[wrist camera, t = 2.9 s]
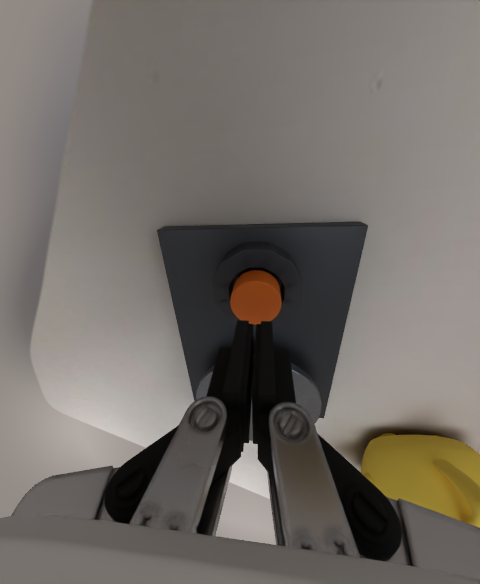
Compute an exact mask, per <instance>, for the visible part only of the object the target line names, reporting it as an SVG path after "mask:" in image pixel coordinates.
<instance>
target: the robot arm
mask: <svg viewBox="0 0 480 584" xmlns="http://www.w3.org/2000/svg"><path fill="white" fill-rule="evenodd" d="M251 403H252V423H253V444H258V460H259V461H260V462H261V463H262V465H263V466H264V467H265V469H266V470H267V476H268V484H269V492H270V500H271V508H272V515H273V522H274V530H275V539H276V545H271V544H265V543H258V542H251V541H244V540H237V539H229V538H223V537H216V536H215V535H216V531H217V527H218V523H219V519H220V515H221V510H222V507H223V502H224V498H225V494H226V490H227V486H228V482H229V478H230V474H231V470H232V465H233V464H234V463H235V462H236V461H237V460H238V459H239V458H240V457H241V452H243V446H244V443H249V433H250V418H251ZM0 584H480V528H479V527H476V526H474V525H471V524H468V523H465V522H463V521H460V520H457V519H455V518H452V517H449V516H446V515H444V514H441V513H438V512H435V511H433V510H430V509H427V508H425V507H422V506H419V505H416V504H414V503H411V502H408V501H406V500H403V499H400V498H399V499H398V500H397V501H396V500H394V499H391V498H388V497H386V496H385V495H384V494H383V493H382V492H381V491H380V490H379V489H378V488H377V487H376V486H375V485H374V484H373V483H371V482H370V481H369V480H368V479H367V478H366V477H365V476H364V475H363V474H361V473H360V472H359V471H358V470H357V469H356V468H355V467H354V466H353V465H352V464H350V463H349V462H348V461H347V460H346V459H345V458H344V457H343V456H342V455H340V454H339V453H338V452H337V451H336V450H335V449H334V448H333V447H332V446H331V445H329V444H328V443H327V442H326V441H325V440H324V439H323V438H322V437H321V436H320V435H318V434H317V431H316V428H315V425H314V422H313V420H312V418H311V416H310V414H309V413H308V412H307V411H306V410H305V408H303V407H302V406H300V405H298V404H296V398H295V390H294V383H293V375H292V368H291V360H290V353H289V350H281V349H273V327H272V321H261V324H256V338H255V352H254V349H253V324H249V321H244V320H238V321H237V324H236V329H235V334H234V339H233V344H232V347H220V349H219V352H218V355H217V359H216V363H215V366H214V370H213V373H212V377H211V381H210V384H209V388H208V391H207V395H206V397H202V398H200V399H198V400H196V401H194V402H193V403H192V404H191V405H190V406H189V408H188V409H187V411H186V413H185V415H184V417H183V419H182V421H181V422H180V424H179V426H177V427H176V428H174V429H173V430H172V431H170V432H169V433H167V434H166V435H164V436H163V437H162V438H160V439H159V440H157V441H156V442H154V443H153V444H152V445H150V446H149V447H147V448H146V449H144V450H143V451H142V452H140V453H139V454H137V455H136V456H134V457H133V458H131V459H130V460H129V461H127V462H126V463H125V464H124V465H122V466H121V467H119V468H113V466H108V467H102V468H96V469H90V470H84V471H79V472H73V473H67V474H61V475H55V476H52V477H49V478H46V479H44V480H42V481H41V482H39V483H38V484H36V485H35V486H34V487H32V489H30V490H29V491H28V492H27V493H26V494H25V496H24V497H23V498H22V500H21V501H20V502H19V504H18V506H17V507H16V509H15V510H14V512H13V514H12V515H11V516H9V517H4V518H0Z"/></svg>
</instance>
